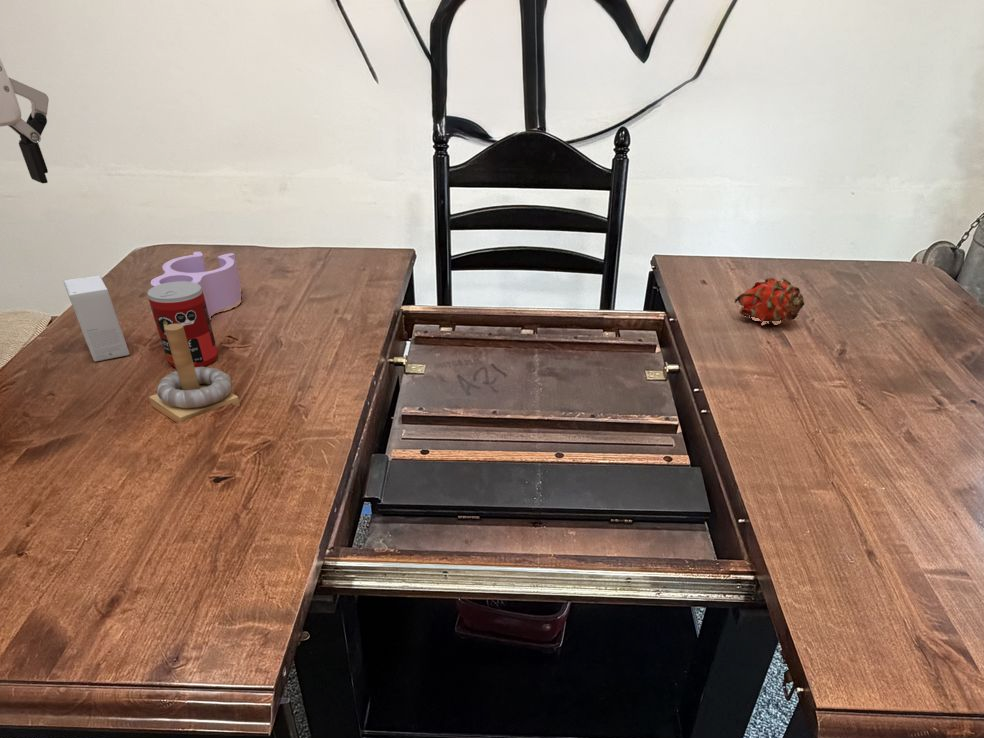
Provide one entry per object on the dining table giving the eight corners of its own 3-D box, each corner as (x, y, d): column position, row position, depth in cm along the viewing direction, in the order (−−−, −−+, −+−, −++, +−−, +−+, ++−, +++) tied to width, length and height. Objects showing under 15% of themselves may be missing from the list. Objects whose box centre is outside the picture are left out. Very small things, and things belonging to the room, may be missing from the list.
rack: (183, 427, 98) (158, 345, 90) (151, 406, 103) (125, 326, 95) (240, 406, 103) (221, 326, 95) (208, 386, 107) (187, 309, 100)
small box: (130, 356, 115) (108, 289, 108) (93, 362, 113) (68, 294, 106) (122, 339, 120) (100, 274, 113) (86, 345, 118) (62, 279, 111)
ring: (181, 418, 97) (176, 401, 95) (147, 394, 102) (142, 378, 100) (246, 395, 102) (242, 379, 101) (211, 374, 107) (207, 358, 106)
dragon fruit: (799, 338, 129) (731, 338, 134) (805, 298, 131) (737, 299, 135) (804, 309, 122) (731, 310, 126) (810, 266, 123) (738, 268, 127)
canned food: (157, 366, 113) (135, 294, 105) (188, 347, 118) (169, 278, 111) (199, 373, 111) (180, 301, 104) (228, 353, 117) (211, 284, 109)
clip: (212, 330, 124) (201, 289, 119) (144, 326, 125) (131, 285, 120) (254, 291, 139) (246, 254, 134) (193, 288, 140) (183, 250, 135)
